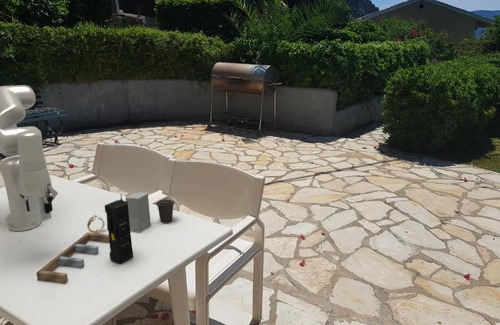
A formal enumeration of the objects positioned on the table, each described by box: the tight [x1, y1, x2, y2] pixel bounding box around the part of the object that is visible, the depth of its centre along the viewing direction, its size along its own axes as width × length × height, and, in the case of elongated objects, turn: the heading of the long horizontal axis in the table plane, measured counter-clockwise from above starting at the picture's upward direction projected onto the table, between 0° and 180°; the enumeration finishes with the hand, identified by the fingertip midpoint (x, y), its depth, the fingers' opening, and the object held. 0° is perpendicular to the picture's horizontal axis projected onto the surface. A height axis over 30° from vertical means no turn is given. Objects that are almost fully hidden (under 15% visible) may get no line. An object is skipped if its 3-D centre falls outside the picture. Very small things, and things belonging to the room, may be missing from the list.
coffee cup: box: [156, 199, 175, 224], centre depth 172 cm, size 8×8×10 cm
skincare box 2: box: [125, 191, 152, 233], centre depth 164 cm, size 8×7×16 cm
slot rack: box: [36, 232, 110, 285], centre depth 140 cm, size 10×30×3 cm, turn 170°
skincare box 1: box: [28, 196, 52, 223], centre depth 137 cm, size 6×4×12 cm
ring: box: [86, 214, 106, 234], centre depth 160 cm, size 7×3×8 cm, turn 120°
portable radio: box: [104, 195, 134, 265], centre depth 137 cm, size 8×6×25 cm
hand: (40, 210), depth 138 cm, fingers closed on skincare box 1, 6 cm apart
